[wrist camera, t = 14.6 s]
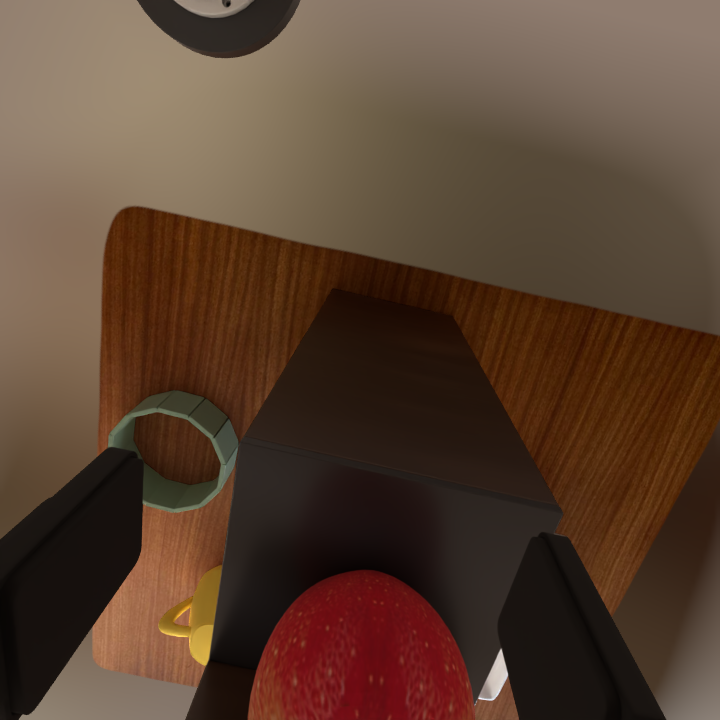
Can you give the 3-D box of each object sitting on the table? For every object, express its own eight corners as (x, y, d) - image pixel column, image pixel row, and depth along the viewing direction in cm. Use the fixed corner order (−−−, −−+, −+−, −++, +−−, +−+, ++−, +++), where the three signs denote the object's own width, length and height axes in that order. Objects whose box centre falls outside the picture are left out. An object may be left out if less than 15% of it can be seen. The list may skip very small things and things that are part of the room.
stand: (332, 288, 51) (90, 687, 9) (453, 315, 51) (737, 821, 10) (310, 398, 55) (87, 983, 14) (420, 422, 56) (518, 1068, 14)
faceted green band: (111, 404, 57) (87, 423, 53) (214, 380, 55) (198, 397, 51) (156, 495, 62) (137, 520, 57) (252, 476, 60) (241, 500, 55)
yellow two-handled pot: (315, 597, 66) (301, 678, 55) (238, 629, 70) (209, 712, 58) (262, 530, 63) (235, 602, 52) (183, 567, 66) (141, 642, 55)
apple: (472, 543, 20) (550, 856, 10) (434, 676, 23) (468, 1014, 13) (287, 515, 20) (198, 801, 10) (273, 651, 23) (194, 970, 13)
